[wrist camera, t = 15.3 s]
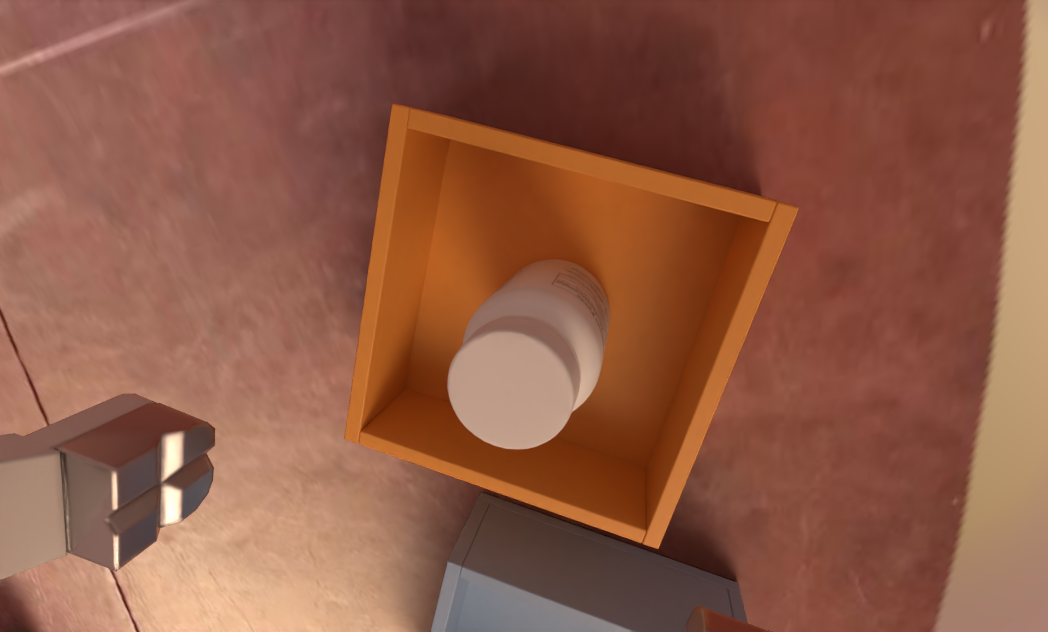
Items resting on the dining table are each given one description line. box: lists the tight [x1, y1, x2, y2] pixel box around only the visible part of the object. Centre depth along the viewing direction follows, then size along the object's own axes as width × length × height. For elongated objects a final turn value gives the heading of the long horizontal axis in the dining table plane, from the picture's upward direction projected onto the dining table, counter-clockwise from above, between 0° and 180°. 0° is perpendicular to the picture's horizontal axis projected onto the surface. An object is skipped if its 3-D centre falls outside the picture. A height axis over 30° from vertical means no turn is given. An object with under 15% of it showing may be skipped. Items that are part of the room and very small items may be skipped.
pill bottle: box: [447, 259, 610, 449], centre depth 17 cm, size 4×4×8 cm
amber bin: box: [344, 103, 799, 549], centre depth 19 cm, size 12×12×5 cm
